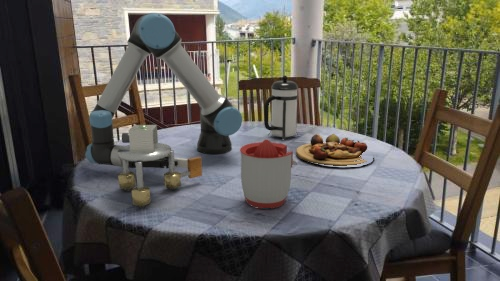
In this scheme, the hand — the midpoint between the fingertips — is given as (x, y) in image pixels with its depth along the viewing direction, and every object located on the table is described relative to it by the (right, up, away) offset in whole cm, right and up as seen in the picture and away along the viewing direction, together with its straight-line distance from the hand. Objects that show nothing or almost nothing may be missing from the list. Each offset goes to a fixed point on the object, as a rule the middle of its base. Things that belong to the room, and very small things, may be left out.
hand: (187, 163), depth 137 cm
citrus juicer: (+27, -11, -12) cm, 32 cm away
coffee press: (+37, +9, +59) cm, 70 cm away
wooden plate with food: (+56, +1, +32) cm, 65 cm away
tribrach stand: (-12, -10, -10) cm, 19 cm away
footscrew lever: (-1, -7, -2) cm, 8 cm away
